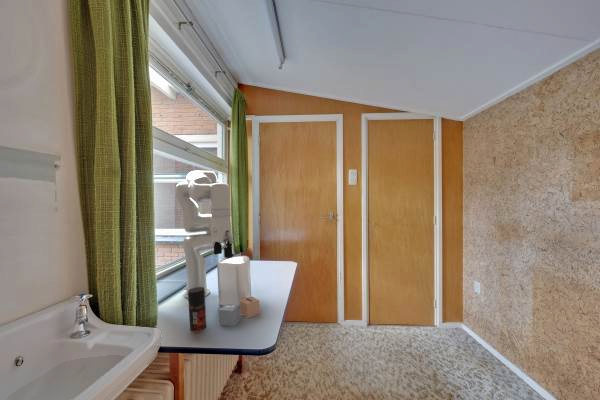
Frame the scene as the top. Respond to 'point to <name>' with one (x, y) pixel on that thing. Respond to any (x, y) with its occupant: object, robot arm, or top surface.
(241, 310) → the terracotta block marked
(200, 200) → the robot arm
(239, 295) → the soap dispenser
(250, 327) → the top surface
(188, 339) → the top surface
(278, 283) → the top surface
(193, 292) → the deodorant
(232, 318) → the slate block marked
